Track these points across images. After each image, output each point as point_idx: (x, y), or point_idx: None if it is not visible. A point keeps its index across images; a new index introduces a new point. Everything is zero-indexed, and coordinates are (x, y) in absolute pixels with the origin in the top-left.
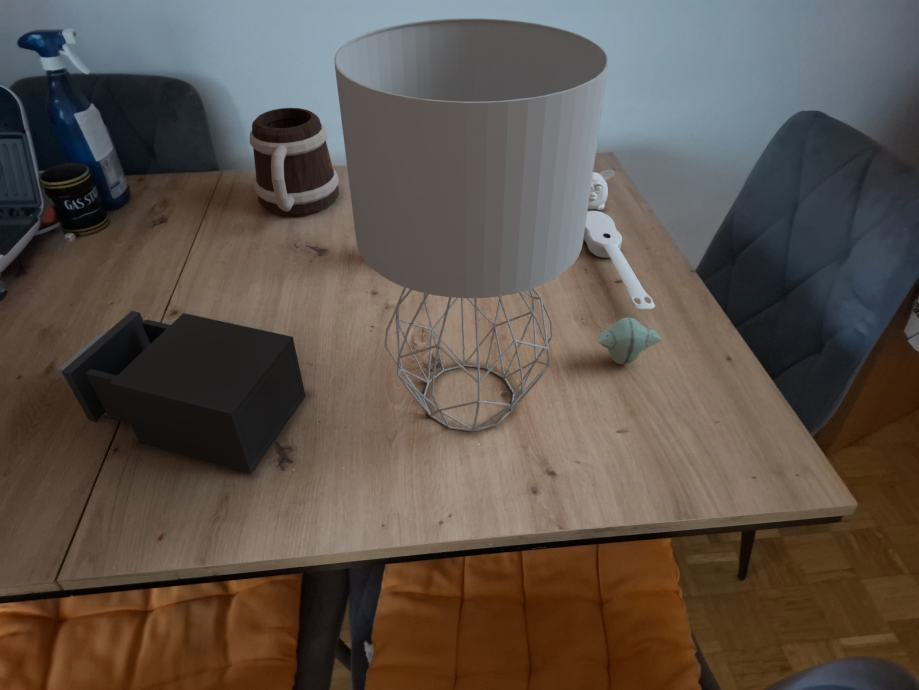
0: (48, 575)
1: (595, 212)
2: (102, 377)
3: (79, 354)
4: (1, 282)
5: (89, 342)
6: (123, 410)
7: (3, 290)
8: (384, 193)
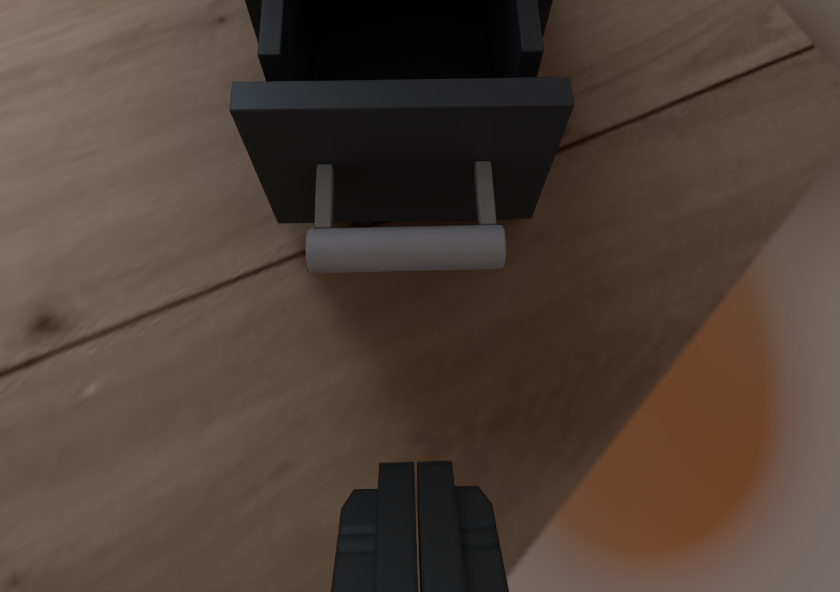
0: (824, 57)
1: None
2: (537, 2)
3: (426, 233)
4: (350, 515)
5: (364, 247)
6: (548, 14)
7: (393, 467)
8: None
